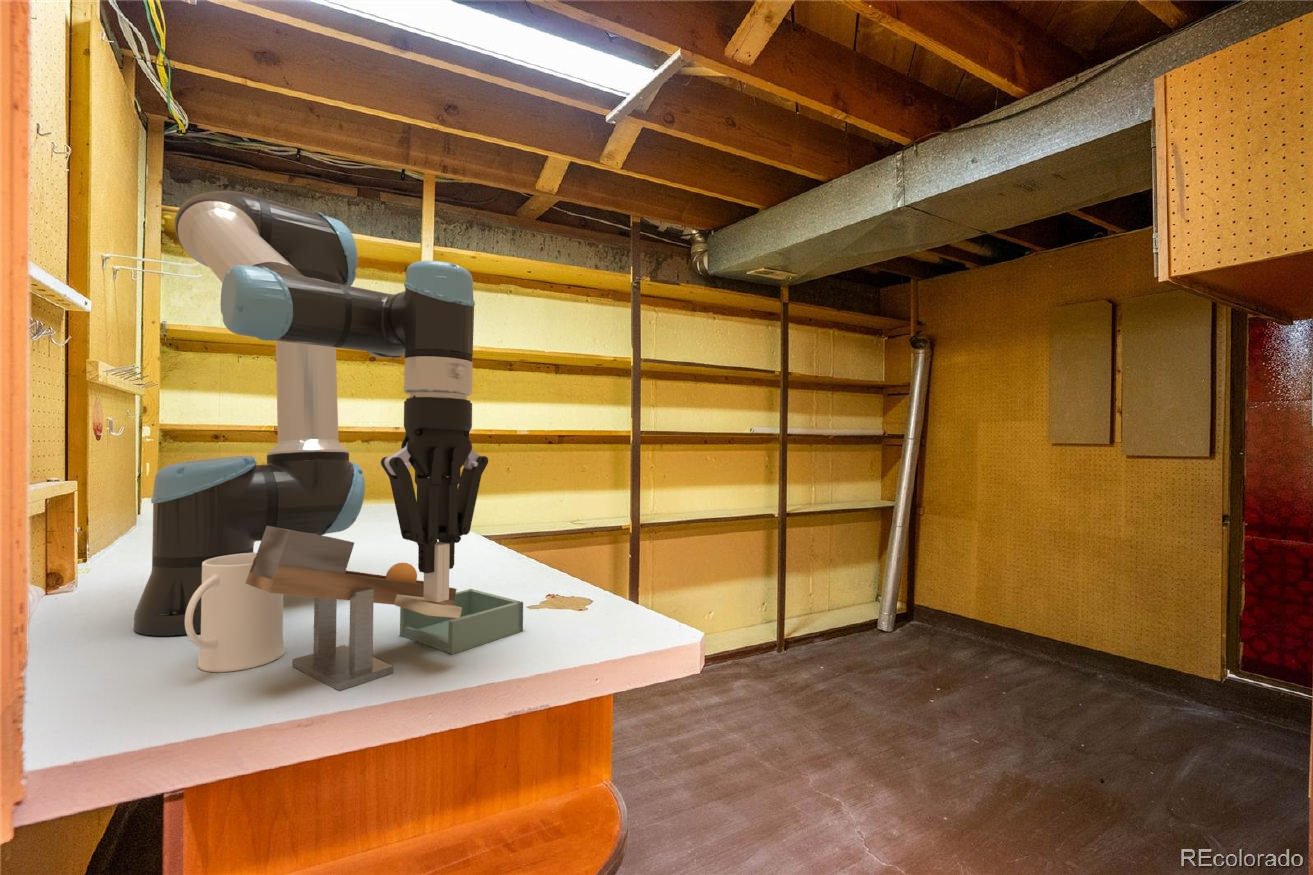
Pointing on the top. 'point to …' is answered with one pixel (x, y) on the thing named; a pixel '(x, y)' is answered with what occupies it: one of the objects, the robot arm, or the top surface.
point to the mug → (235, 617)
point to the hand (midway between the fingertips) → (436, 598)
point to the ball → (402, 573)
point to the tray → (465, 622)
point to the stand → (344, 662)
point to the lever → (331, 573)
